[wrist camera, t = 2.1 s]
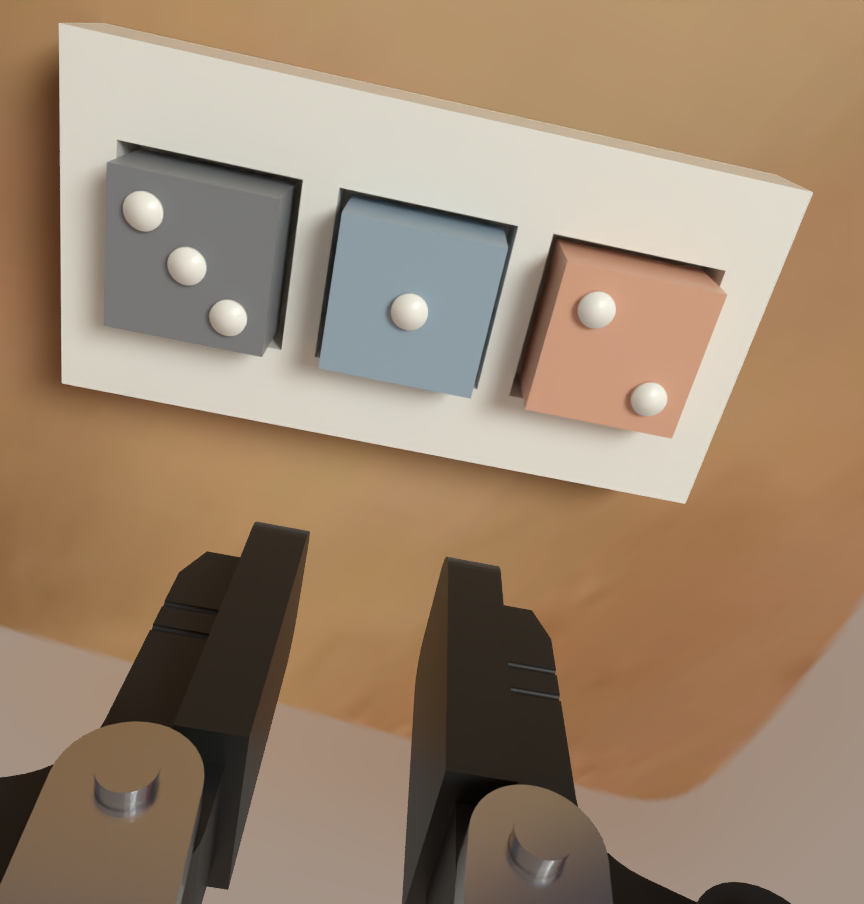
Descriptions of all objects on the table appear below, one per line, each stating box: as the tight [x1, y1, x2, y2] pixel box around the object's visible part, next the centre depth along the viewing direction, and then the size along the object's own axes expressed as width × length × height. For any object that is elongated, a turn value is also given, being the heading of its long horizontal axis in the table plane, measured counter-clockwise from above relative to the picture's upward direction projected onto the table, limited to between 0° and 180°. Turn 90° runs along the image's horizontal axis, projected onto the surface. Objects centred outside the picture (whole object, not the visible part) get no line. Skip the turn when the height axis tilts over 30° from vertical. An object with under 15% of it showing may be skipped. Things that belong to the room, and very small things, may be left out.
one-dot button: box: [319, 194, 508, 399], centre depth 23 cm, size 4×4×3 cm
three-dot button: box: [104, 149, 297, 357], centre depth 23 cm, size 4×4×3 cm
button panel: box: [59, 23, 813, 504], centre depth 25 cm, size 20×10×3 cm, turn 78°
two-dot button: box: [519, 238, 727, 439], centre depth 24 cm, size 4×4×3 cm
